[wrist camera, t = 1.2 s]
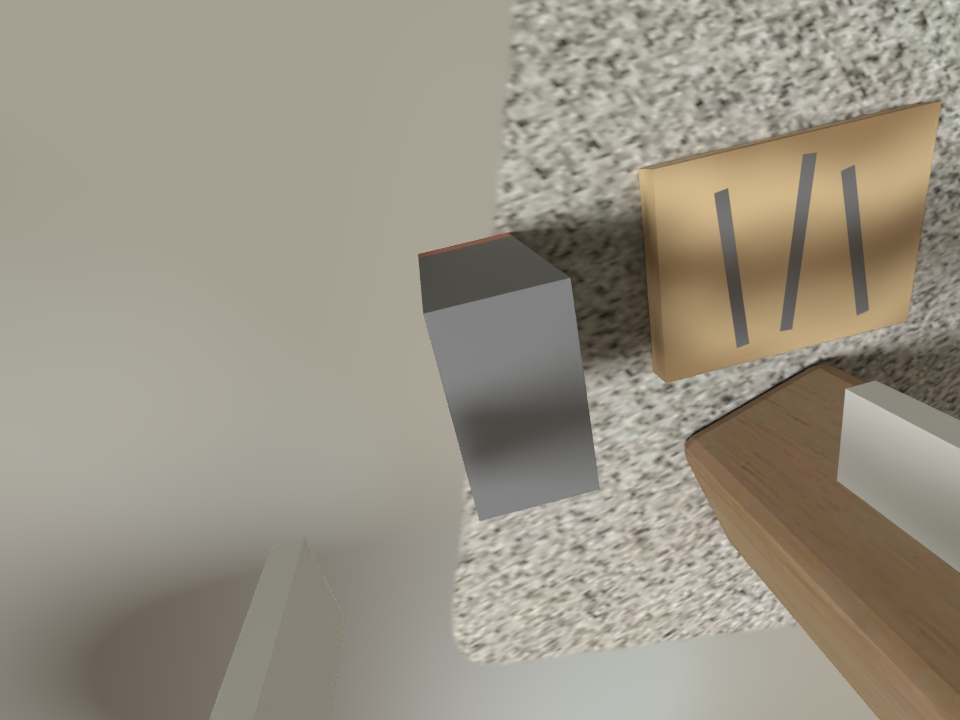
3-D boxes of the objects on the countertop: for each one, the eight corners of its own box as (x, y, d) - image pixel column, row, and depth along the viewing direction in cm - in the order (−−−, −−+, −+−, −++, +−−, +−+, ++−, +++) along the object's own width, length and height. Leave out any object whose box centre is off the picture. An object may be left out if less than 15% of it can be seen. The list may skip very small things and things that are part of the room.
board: (638, 168, 23) (653, 169, 22) (910, 104, 24) (941, 101, 22) (653, 371, 28) (666, 382, 26) (882, 313, 28) (907, 321, 27)
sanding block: (418, 254, 23) (423, 313, 14) (508, 232, 24) (570, 277, 14) (455, 396, 27) (479, 520, 17) (534, 376, 27) (599, 489, 18)
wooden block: (821, 352, 29) (1555, 692, 10) (857, 466, 32) (1438, 861, 14) (672, 439, 30) (1101, 891, 11) (725, 539, 33) (1108, 998, 15)
